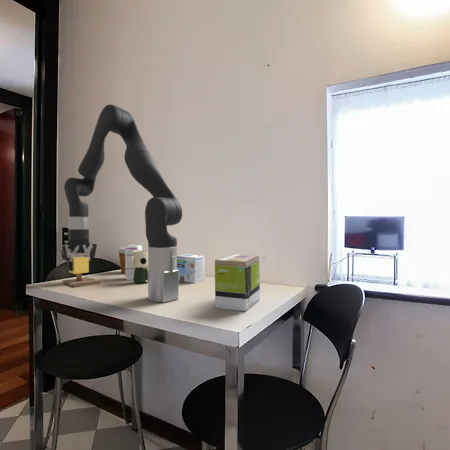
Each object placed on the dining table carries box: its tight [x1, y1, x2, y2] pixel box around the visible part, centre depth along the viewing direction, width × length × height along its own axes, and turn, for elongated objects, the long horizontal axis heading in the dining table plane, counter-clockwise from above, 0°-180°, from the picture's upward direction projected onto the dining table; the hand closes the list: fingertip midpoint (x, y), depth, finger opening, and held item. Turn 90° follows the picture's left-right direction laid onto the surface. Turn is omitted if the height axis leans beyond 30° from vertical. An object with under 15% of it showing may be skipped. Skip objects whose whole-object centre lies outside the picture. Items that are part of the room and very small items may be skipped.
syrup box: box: [124, 244, 143, 281], centre depth 134 cm, size 6×6×14 cm
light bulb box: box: [177, 253, 206, 284], centre depth 132 cm, size 11×7×11 cm, turn 56°
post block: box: [62, 273, 101, 288], centre depth 125 cm, size 12×10×5 cm
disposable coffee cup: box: [117, 246, 126, 275], centre depth 149 cm, size 10×10×12 cm
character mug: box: [131, 249, 148, 284], centre depth 127 cm, size 11×7×13 cm, turn 149°
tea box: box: [214, 253, 261, 312], centre depth 97 cm, size 15×10×15 cm
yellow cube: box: [68, 255, 90, 275], centre depth 125 cm, size 6×6×6 cm
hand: (78, 269), depth 125 cm, fingers closed on yellow cube, 5 cm apart
